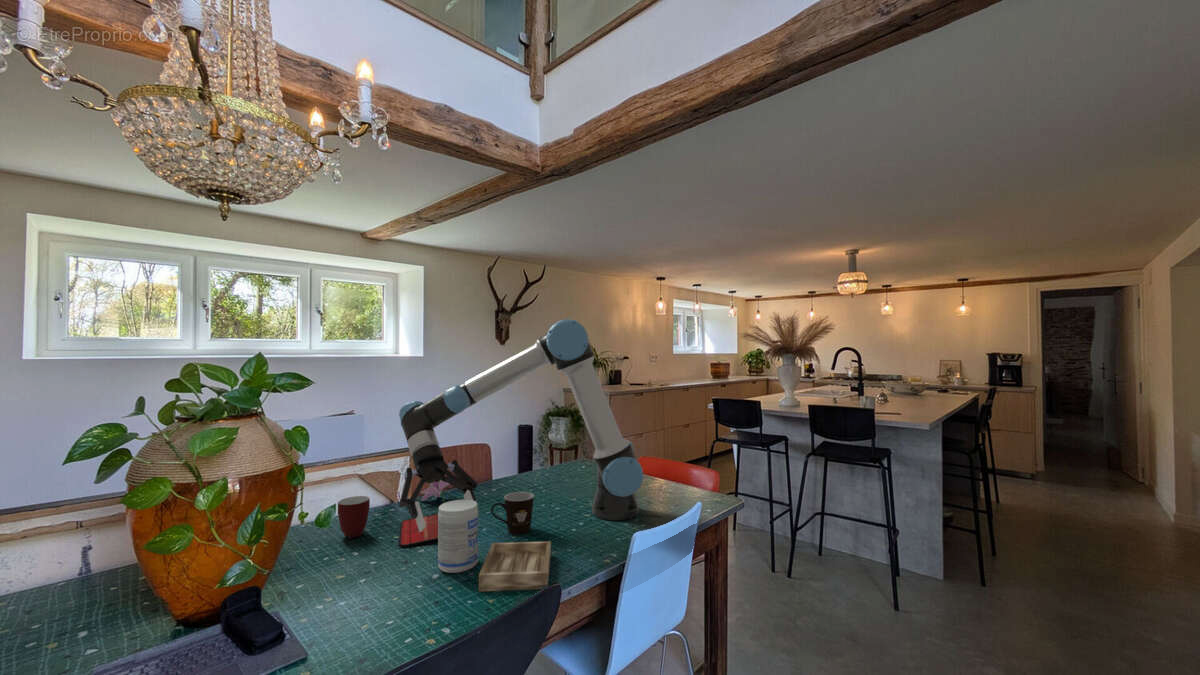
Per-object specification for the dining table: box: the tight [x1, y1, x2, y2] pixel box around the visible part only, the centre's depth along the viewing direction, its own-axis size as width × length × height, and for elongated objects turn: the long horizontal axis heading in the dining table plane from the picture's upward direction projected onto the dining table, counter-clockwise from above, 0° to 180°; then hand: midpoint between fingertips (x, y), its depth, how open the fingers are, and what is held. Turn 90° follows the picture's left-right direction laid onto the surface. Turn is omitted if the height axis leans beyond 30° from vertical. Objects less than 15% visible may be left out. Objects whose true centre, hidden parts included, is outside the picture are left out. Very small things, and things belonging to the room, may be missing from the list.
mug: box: [337, 495, 371, 538], centre depth 134 cm, size 11×8×10 cm
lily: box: [420, 480, 450, 503], centre depth 162 cm, size 12×12×10 cm
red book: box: [398, 513, 438, 549], centre depth 136 cm, size 16×2×21 cm
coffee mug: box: [490, 491, 535, 536], centre depth 135 cm, size 12×9×10 cm
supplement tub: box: [437, 499, 479, 574], centre depth 114 cm, size 10×10×15 cm
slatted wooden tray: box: [478, 540, 552, 593], centre depth 110 cm, size 15×17×4 cm
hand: (449, 521), depth 115 cm, fingers open, 13 cm apart
